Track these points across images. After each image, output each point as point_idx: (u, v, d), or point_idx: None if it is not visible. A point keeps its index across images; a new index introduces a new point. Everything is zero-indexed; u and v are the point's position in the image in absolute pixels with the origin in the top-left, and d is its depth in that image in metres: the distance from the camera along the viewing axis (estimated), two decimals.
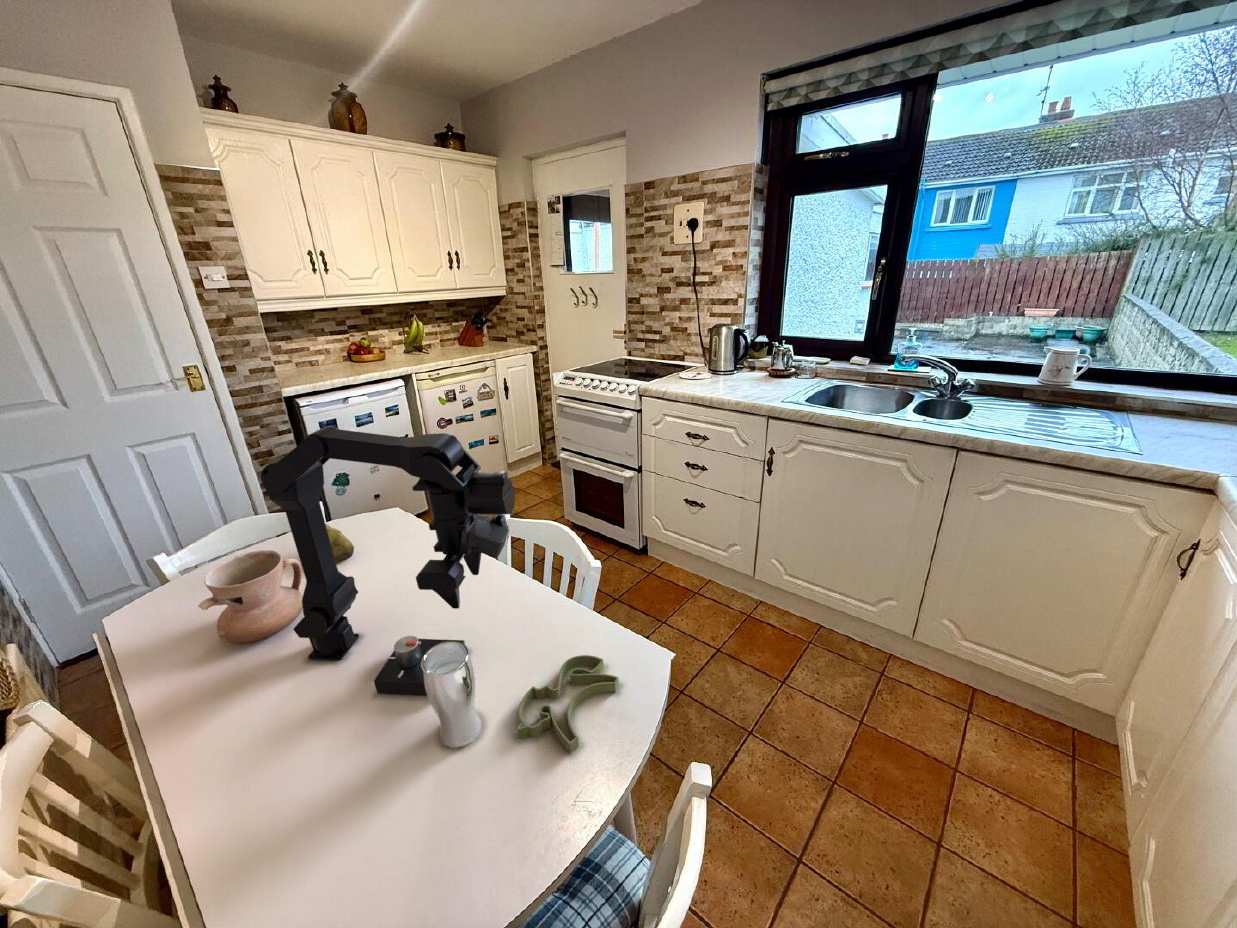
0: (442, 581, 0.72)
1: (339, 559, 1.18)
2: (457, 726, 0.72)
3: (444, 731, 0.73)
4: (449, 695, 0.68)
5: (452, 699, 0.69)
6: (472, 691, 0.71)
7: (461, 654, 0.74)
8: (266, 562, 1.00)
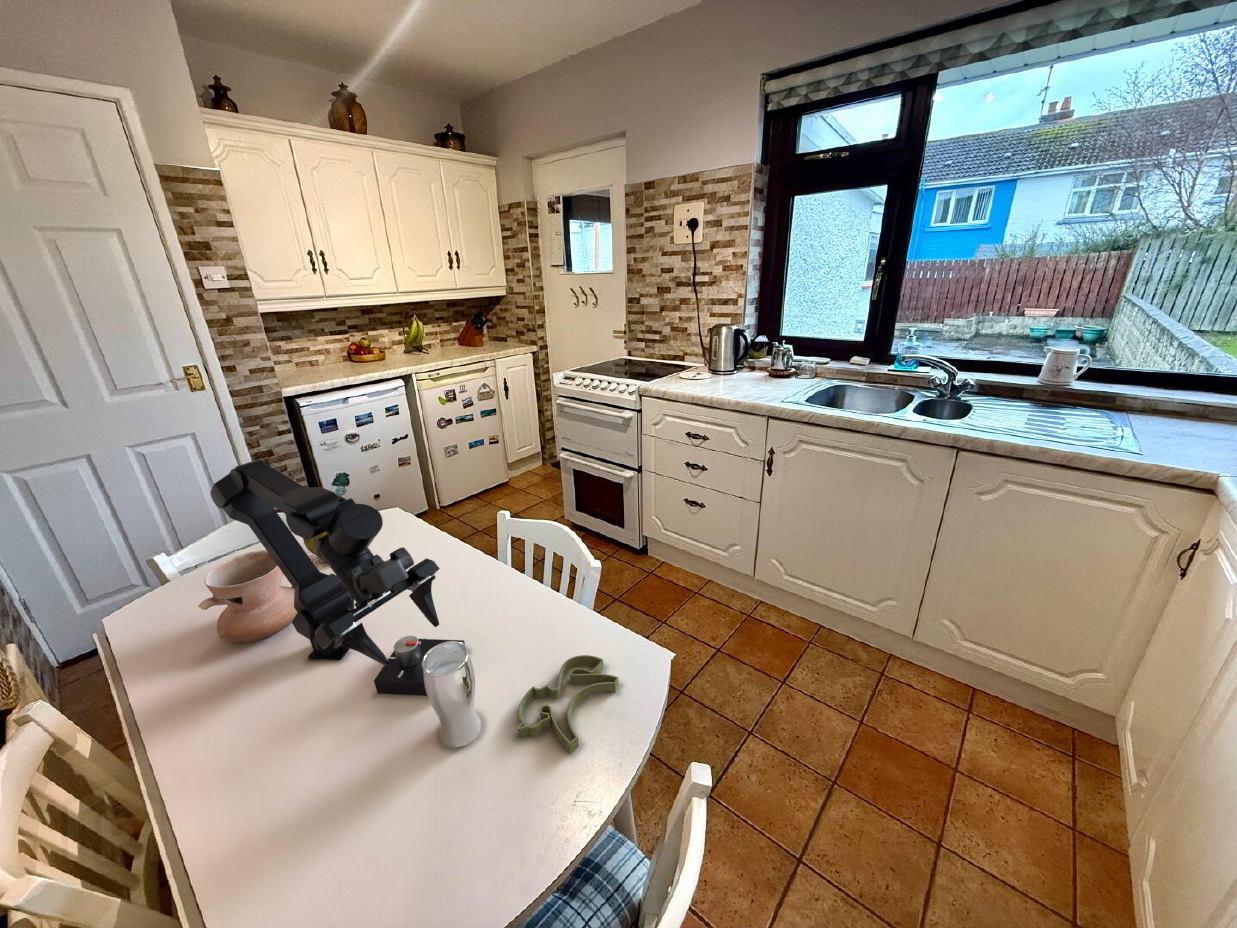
0: (322, 633, 0.67)
1: None
2: (457, 726, 0.72)
3: (444, 731, 0.73)
4: (449, 695, 0.68)
5: (452, 699, 0.69)
6: (472, 691, 0.71)
7: (461, 654, 0.74)
8: (266, 562, 1.00)
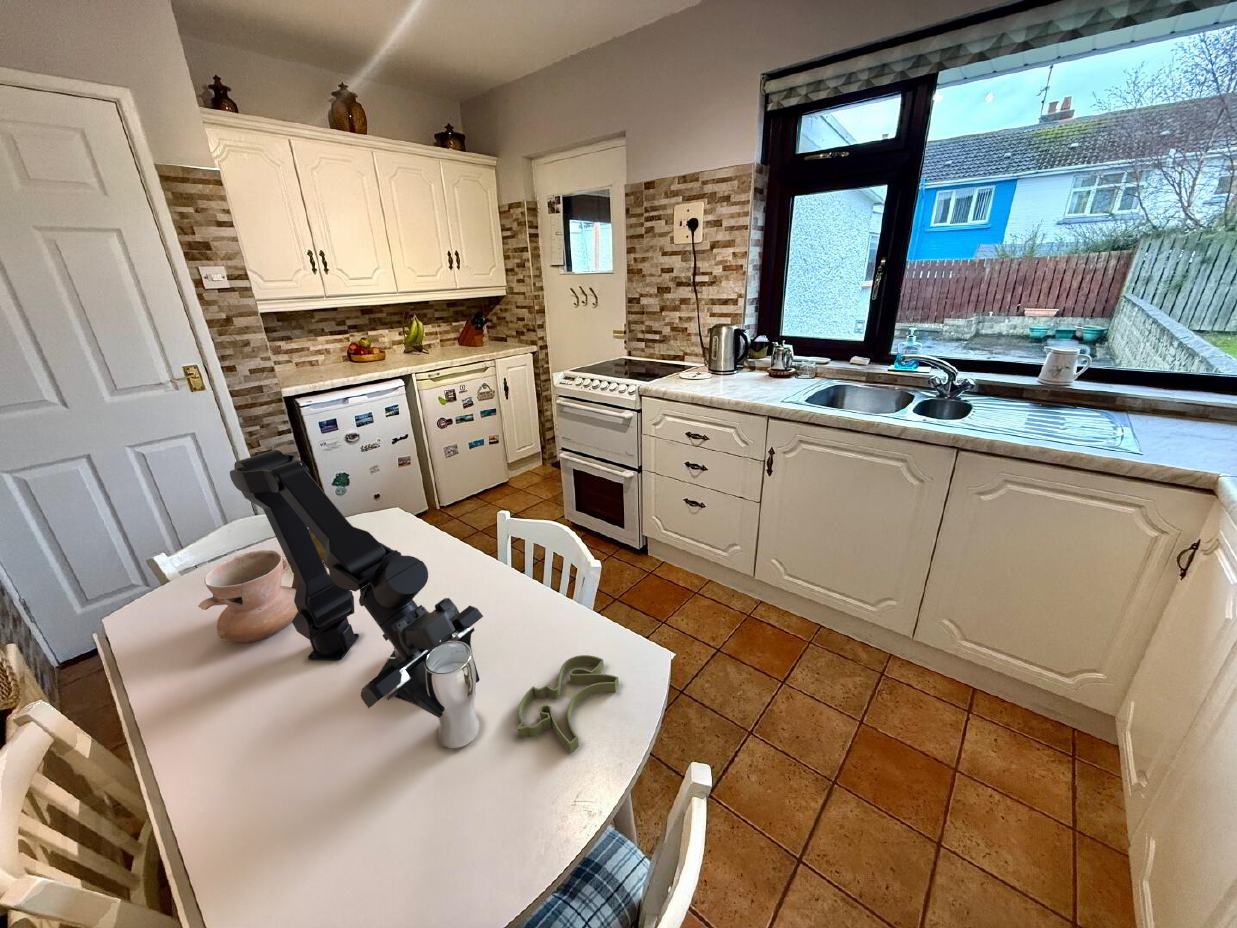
0: (369, 693, 0.65)
1: None
2: (457, 726, 0.72)
3: (443, 731, 0.72)
4: (451, 695, 0.68)
5: (453, 699, 0.69)
6: (473, 691, 0.71)
7: (464, 654, 0.73)
8: (266, 562, 1.00)
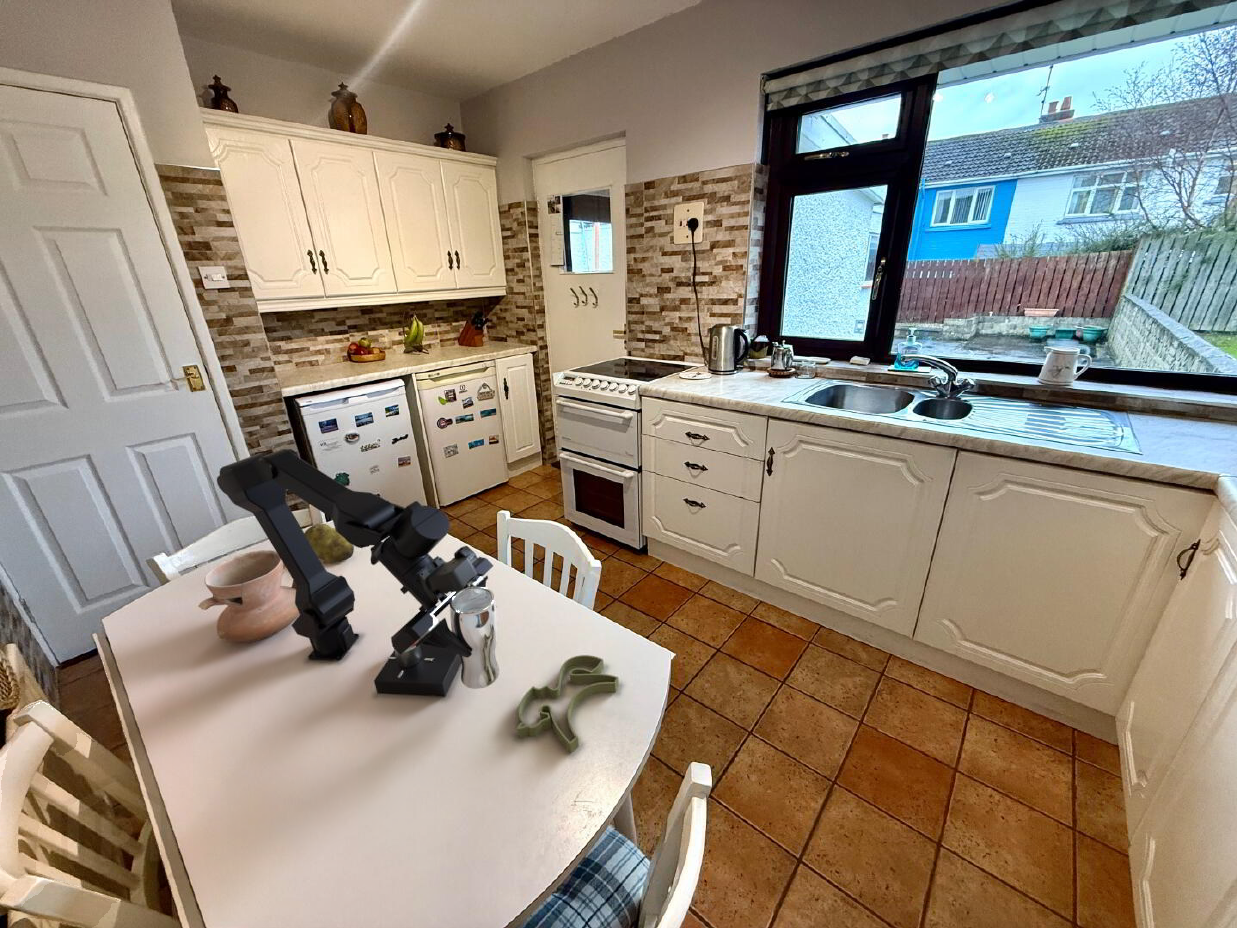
0: (404, 637, 0.67)
1: (339, 559, 1.18)
2: (482, 666, 0.76)
3: (468, 673, 0.76)
4: (480, 633, 0.72)
5: (482, 637, 0.73)
6: (497, 631, 0.76)
7: (482, 599, 0.77)
8: (266, 562, 1.00)
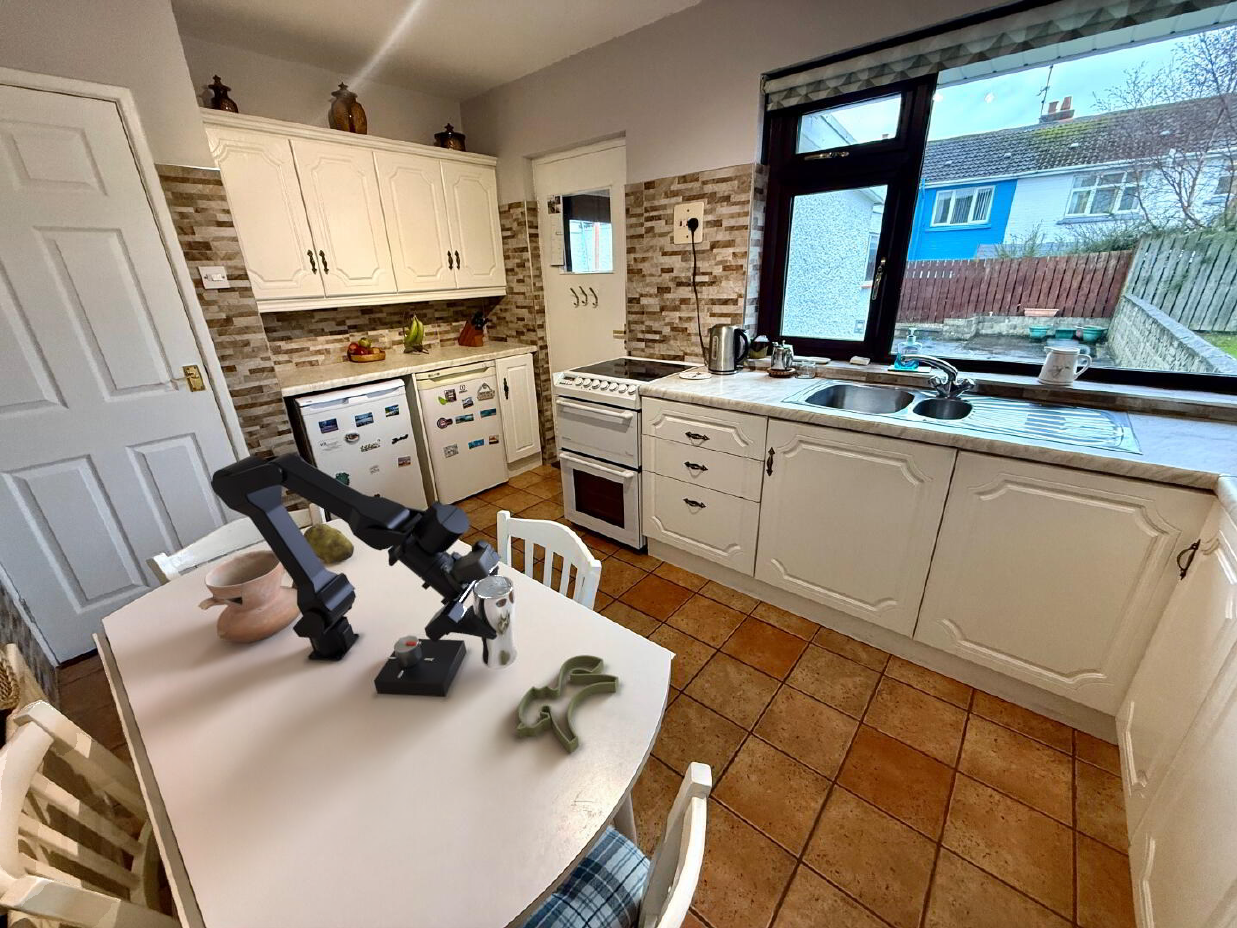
0: (441, 624, 0.73)
1: (339, 559, 1.18)
2: (505, 647, 0.83)
3: (492, 655, 0.83)
4: (504, 615, 0.80)
5: (506, 619, 0.80)
6: None
7: (498, 586, 0.85)
8: (266, 562, 1.00)
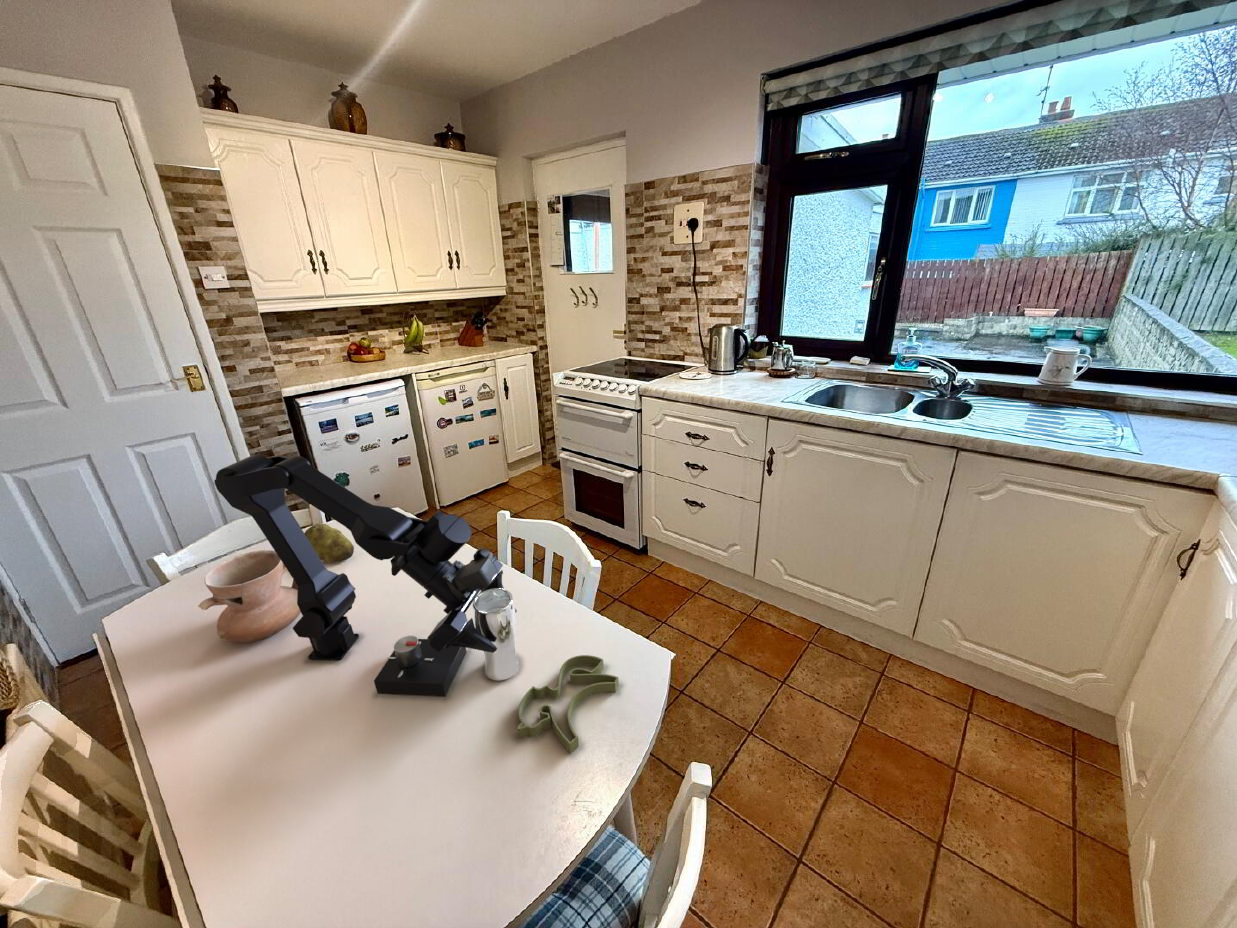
0: (443, 634, 0.73)
1: (339, 559, 1.18)
2: (507, 658, 0.84)
3: (494, 667, 0.84)
4: (504, 629, 0.80)
5: (506, 632, 0.81)
6: (516, 625, 0.84)
7: (498, 599, 0.85)
8: (266, 562, 1.00)
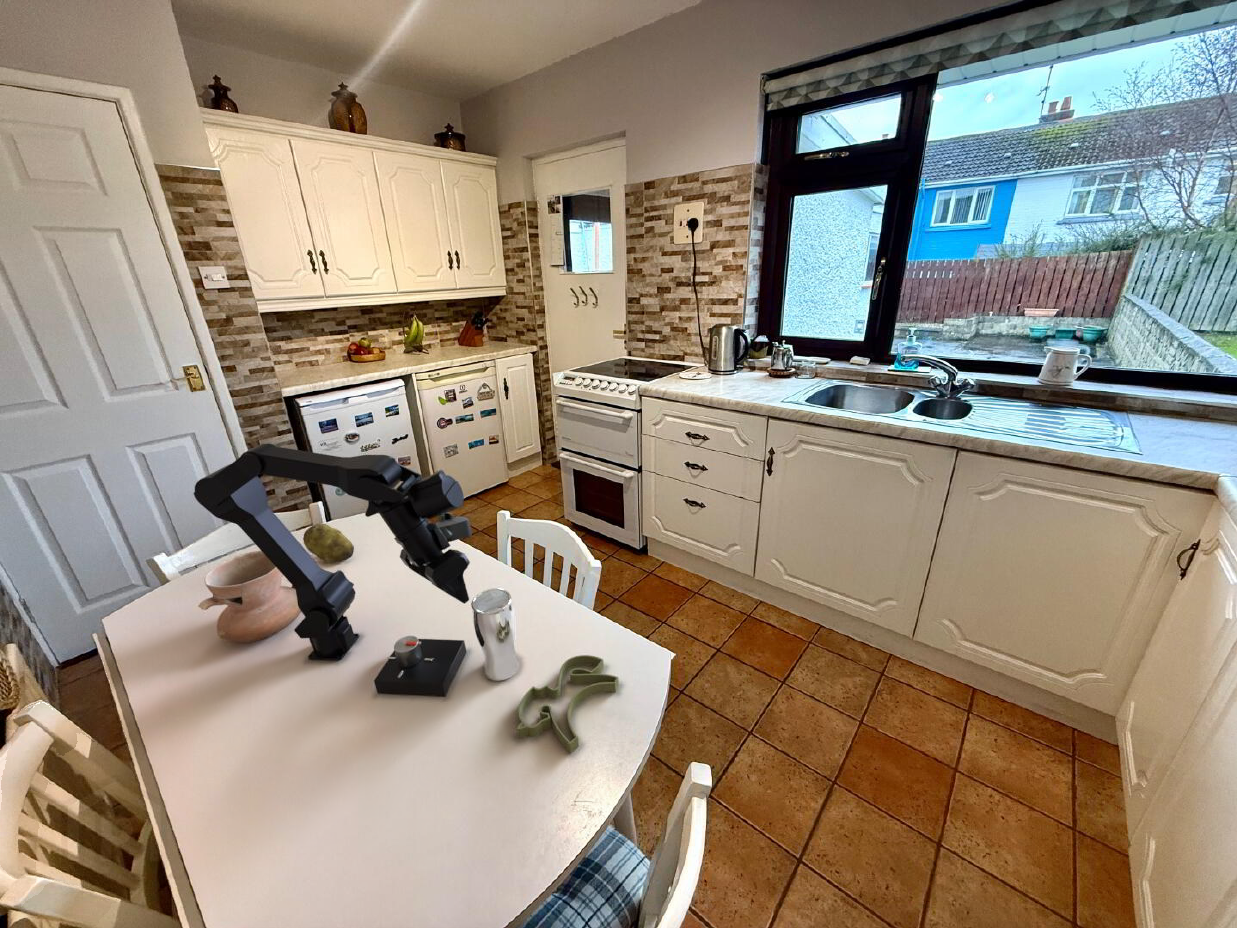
0: (457, 562, 0.78)
1: (339, 559, 1.18)
2: (506, 658, 0.84)
3: (494, 667, 0.84)
4: (503, 629, 0.80)
5: (505, 632, 0.81)
6: (515, 625, 0.84)
7: (497, 599, 0.85)
8: (266, 562, 1.00)
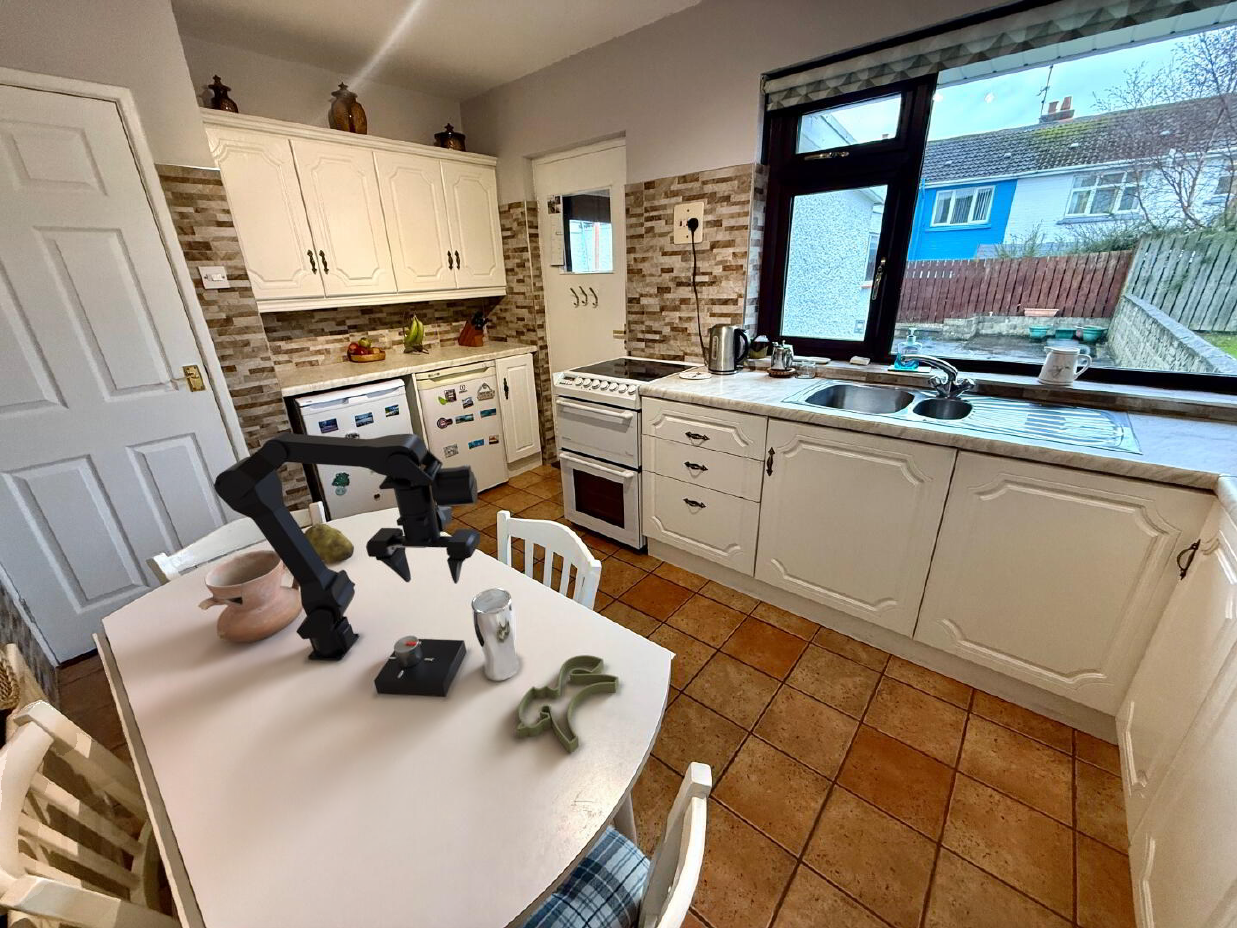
0: (477, 537, 0.87)
1: (339, 559, 1.18)
2: (506, 658, 0.84)
3: (494, 667, 0.84)
4: (503, 629, 0.80)
5: (505, 632, 0.81)
6: (515, 625, 0.84)
7: (497, 599, 0.85)
8: (266, 562, 1.00)
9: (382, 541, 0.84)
